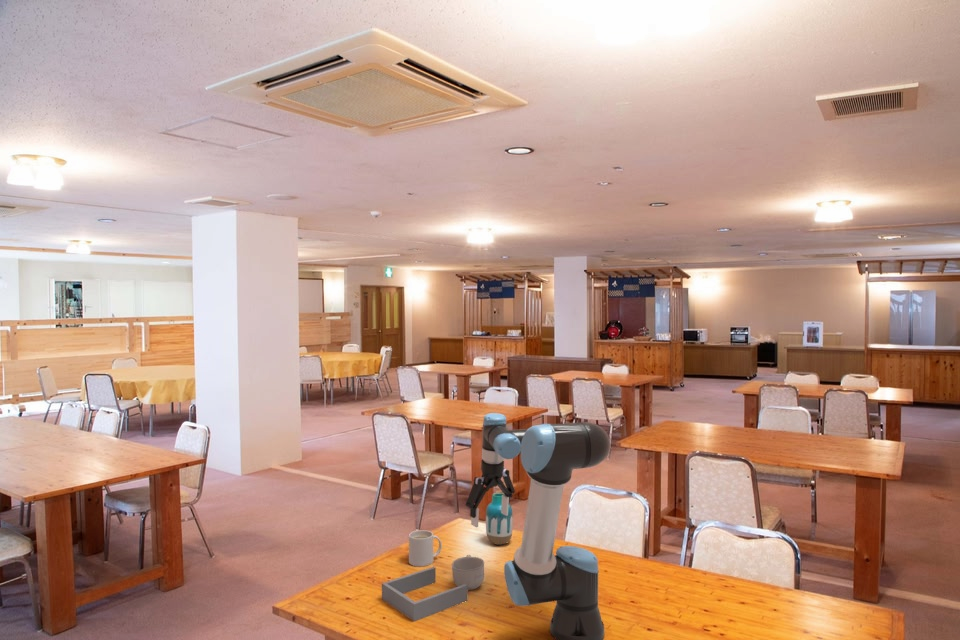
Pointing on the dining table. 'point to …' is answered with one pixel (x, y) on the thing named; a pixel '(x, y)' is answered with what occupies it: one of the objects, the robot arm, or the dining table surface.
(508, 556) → the dining table surface
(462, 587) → the box
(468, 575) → the teacup
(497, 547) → the dining table surface
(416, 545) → the mug
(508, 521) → the vase
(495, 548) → the dining table surface
